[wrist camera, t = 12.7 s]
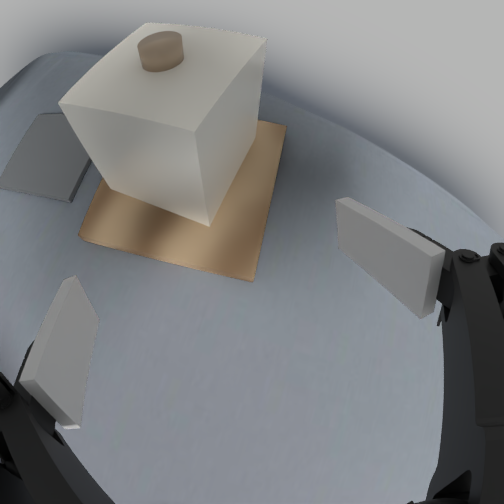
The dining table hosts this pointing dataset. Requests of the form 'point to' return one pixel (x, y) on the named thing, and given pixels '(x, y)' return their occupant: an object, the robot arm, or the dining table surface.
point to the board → (191, 232)
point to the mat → (47, 160)
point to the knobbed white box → (171, 114)
